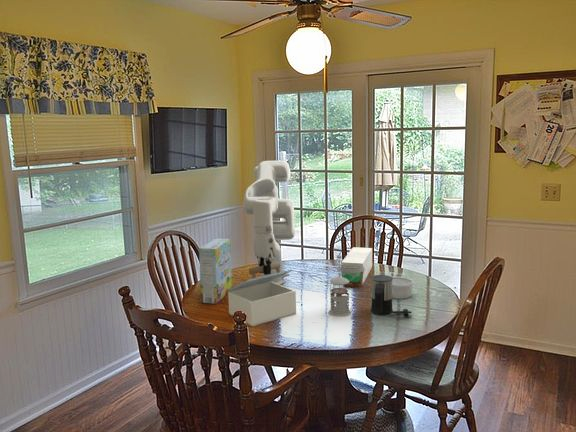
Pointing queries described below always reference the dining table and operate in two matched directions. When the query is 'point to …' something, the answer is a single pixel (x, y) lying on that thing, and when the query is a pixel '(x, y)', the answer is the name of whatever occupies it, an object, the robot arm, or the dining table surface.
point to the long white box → (359, 260)
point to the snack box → (215, 270)
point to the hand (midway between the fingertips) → (265, 273)
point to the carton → (263, 302)
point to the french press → (339, 297)
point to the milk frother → (383, 296)
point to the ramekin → (401, 287)
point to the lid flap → (261, 279)
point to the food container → (353, 276)
